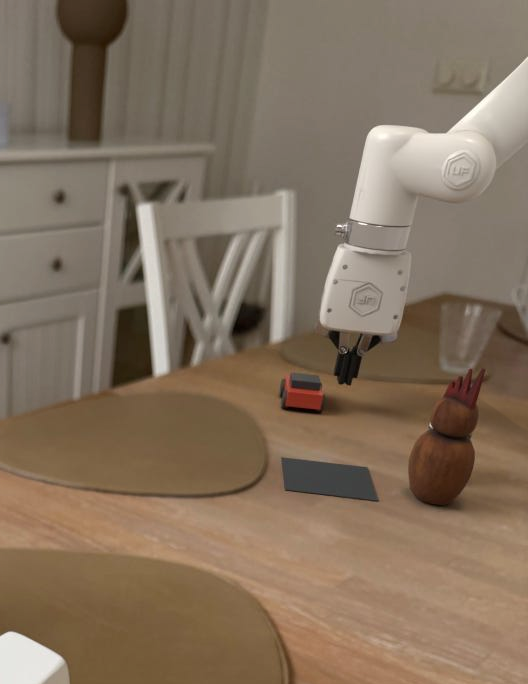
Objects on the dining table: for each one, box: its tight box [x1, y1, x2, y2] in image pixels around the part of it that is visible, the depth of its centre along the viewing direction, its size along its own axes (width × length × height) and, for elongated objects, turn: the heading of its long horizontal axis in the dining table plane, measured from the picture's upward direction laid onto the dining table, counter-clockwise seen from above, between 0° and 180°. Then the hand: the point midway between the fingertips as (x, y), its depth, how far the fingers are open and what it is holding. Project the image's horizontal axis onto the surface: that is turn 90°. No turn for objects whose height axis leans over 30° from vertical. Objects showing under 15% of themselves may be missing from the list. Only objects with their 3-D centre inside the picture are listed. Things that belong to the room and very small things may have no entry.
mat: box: [281, 456, 379, 502], centre depth 111 cm, size 10×10×1 cm
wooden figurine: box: [407, 368, 486, 506], centre depth 104 cm, size 7×6×15 cm
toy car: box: [278, 372, 326, 413], centre depth 133 cm, size 8×4×5 cm
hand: (343, 381), depth 132 cm, fingers closed
